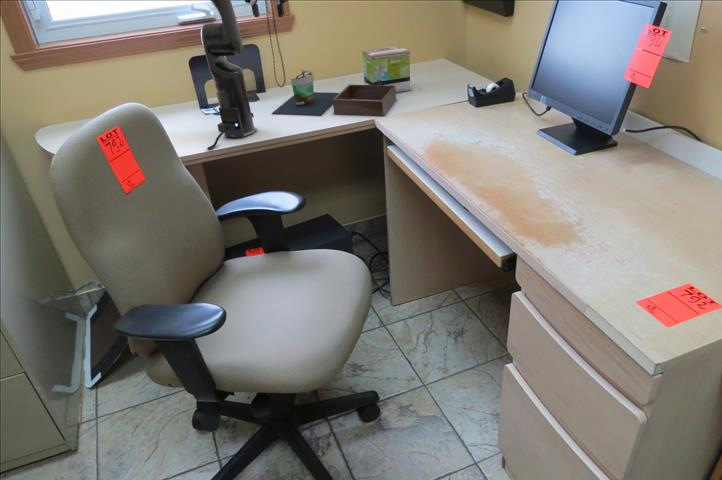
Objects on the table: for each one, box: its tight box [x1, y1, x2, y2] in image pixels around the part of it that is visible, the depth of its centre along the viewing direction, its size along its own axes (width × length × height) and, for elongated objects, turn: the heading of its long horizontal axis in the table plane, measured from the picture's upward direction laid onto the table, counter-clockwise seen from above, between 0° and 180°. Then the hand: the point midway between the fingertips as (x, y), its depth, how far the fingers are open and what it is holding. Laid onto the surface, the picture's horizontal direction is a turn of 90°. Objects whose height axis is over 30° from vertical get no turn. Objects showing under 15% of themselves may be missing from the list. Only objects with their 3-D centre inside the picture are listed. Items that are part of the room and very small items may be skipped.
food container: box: [290, 69, 315, 107], centre depth 199 cm, size 12×6×10 cm, turn 169°
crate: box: [332, 83, 397, 117], centre depth 195 cm, size 18×18×5 cm
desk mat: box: [271, 91, 340, 117], centre depth 202 cm, size 24×18×1 cm
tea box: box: [362, 45, 411, 93], centre depth 206 cm, size 15×10×15 cm, turn 114°
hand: (269, 16), depth 183 cm, fingers open, 8 cm apart
